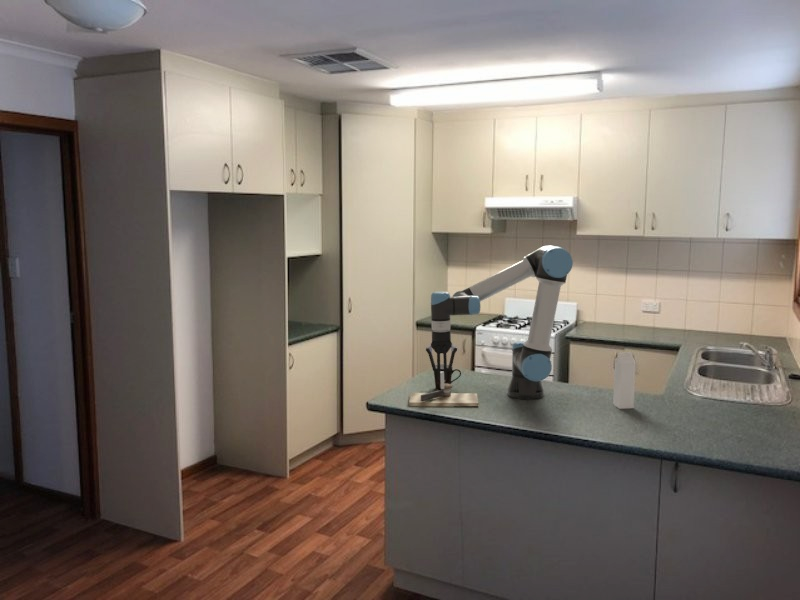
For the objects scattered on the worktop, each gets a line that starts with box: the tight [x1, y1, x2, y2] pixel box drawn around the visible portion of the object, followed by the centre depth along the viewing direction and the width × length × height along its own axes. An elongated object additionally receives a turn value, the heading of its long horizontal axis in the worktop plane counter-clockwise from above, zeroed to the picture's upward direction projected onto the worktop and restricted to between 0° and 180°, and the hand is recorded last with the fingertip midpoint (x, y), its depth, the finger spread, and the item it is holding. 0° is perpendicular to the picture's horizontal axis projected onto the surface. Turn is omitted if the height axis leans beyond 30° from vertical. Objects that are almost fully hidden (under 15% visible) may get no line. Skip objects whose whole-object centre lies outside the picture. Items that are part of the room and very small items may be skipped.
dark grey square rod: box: [421, 383, 453, 402], centre depth 269 cm, size 5×17×4 cm, turn 131°
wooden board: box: [408, 392, 479, 407], centre depth 270 cm, size 28×14×2 cm, turn 86°
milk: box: [612, 352, 637, 410], centre depth 260 cm, size 6×6×22 cm
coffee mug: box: [433, 363, 462, 391], centre depth 288 cm, size 12×9×10 cm
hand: (442, 387), depth 263 cm, fingers closed
